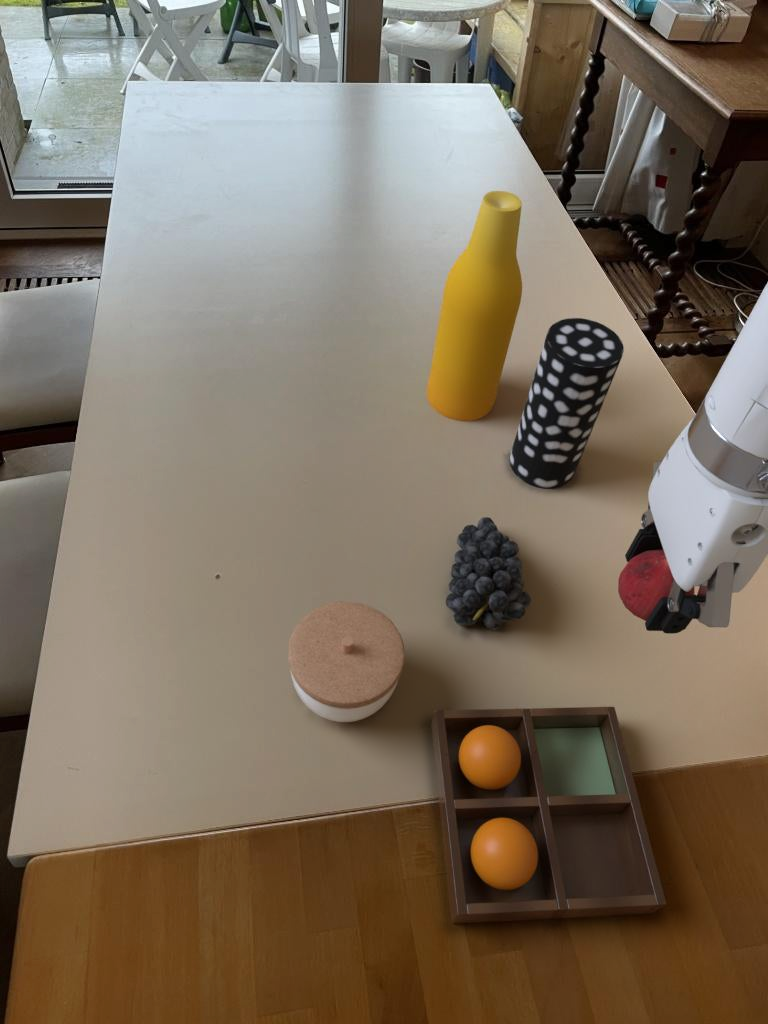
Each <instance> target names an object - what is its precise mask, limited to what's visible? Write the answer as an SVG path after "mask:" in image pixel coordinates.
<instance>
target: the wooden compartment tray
mask: <svg viewBox="0 0 768 1024" xmlns="http://www.w3.org/2000/svg"><path fill="white" fill-rule="evenodd" d="M484 725H492V726H497V727H500V728H502V729H504V730H506V731H507V732H508V733H510V734H511V735H512V736H513V738H514V739H515V740H516V742H517V744H518V746H519V749H520V753H521V764H520V768H519V771H518V773H517V775H516V777H515V778H514V779H513V781H512V782H511V783H509V784H508V785H506V786H505V787H503V788H500V789H496V790H486V789H482V788H479V787H477V786H475V785H474V784H472V783H471V782H470V781H469V780H468V779H467V778H466V777H465V775H464V774H463V772H462V770H461V767H460V764H459V749H460V746H461V743H462V741H463V739H464V738H465V736H466V735H467V734H468V733H469V732H470V731H472V730H473V729H475V728H477V727H480V726H484ZM430 729H431V739H432V748H433V749H432V750H433V758H434V767H435V776H436V777H435V779H436V787H437V795H438V796H437V797H438V807H439V815H440V824H441V825H440V826H441V834H442V843H443V854H444V862H445V863H444V864H445V871H446V873H445V874H446V881H447V890H448V902H449V911H450V919H451V924H453V925H455V924H472V923H473V924H475V923H491V922H492V923H493V922H512V921H534V920H551V919H571V918H572V919H573V918H591V917H610V916H612V917H613V916H628V915H629V916H632V915H651V914H654V913H656V912H658V911H659V910H660V909H662V908H663V907H665V906H667V900H666V897H665V892H664V889H663V885H662V882H661V877H660V875H659V871H658V870H659V869H658V867H657V863H656V859H655V856H654V852H653V848H652V847H653V846H652V845H651V840H650V836H649V833H648V828H647V824H646V822H645V817H644V814H643V810H642V807H641V803H640V798H639V795H638V791H637V788H636V787H637V786H636V784H635V779H634V776H633V772H632V769H631V764H630V761H629V757H628V754H627V753H628V752H627V751H626V750H627V749H626V746H625V742H624V738H623V734H622V731H621V727H620V723H619V719H618V715H617V712H616V707H615V706H587V707H586V706H585V707H584V706H583V707H577V706H576V707H541V708H539V707H537V708H495V709H494V708H491V709H489V708H488V709H454V710H453V709H450V710H449V709H448V710H443V709H442V710H441V709H439V710H434V713H433V717H432V720H431V722H430ZM495 818H510V819H513V820H516V821H518V822H519V823H521V824H522V825H524V826H525V827H526V828H527V829H528V830H529V831H530V833H531V834H532V836H533V838H534V840H535V842H536V845H537V849H538V862H537V867H536V870H535V872H534V874H533V876H532V877H531V879H530V880H529V881H528V882H527V883H526V884H524V885H523V886H521V887H519V888H517V889H513V890H499V889H496V888H493V887H491V886H490V885H488V884H487V883H485V882H484V881H483V880H482V879H481V878H480V877H479V875H478V874H477V872H476V871H475V869H474V866H473V864H472V859H471V844H472V840H473V837H474V835H475V833H476V832H477V830H478V829H479V828H480V827H481V826H482V825H483V824H484V823H486V822H487V821H489V820H492V819H495Z"/></svg>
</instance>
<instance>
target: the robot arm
mask: <svg viewBox="0 0 768 1024" xmlns="http://www.w3.org/2000/svg"><path fill="white" fill-rule="evenodd" d="M647 498H648V503H647V506H648V507H647V509H646V511H644V512H643V513H642V514H641V517H640V525H641V528H639V529H638V531H637V533H636V535H635V536H634V539H633V540H632V542H631V544H630V545H629V547H628V549H627V551H626V553H625V554H624V556H625V560H626V562H627V563H628V562H629V561H630V560H631V559H632V558H633V557H635V556H637V555H639V554H641V553H643V552H645V551H649V550H664V553H665V556H666V559H667V561H668V564H669V567H670V570H671V573H672V575H673V577H674V579H673V583H672V586H671V589H670V593H669V596H668V597H662V598H661V599H660V600H659V602H658V603H657V605H656V606H655V608H654V609H653V611H652V612H651V614H650V615H649V617H648V618H647V620H646V621H644V625H645V629H646V631H648V632H663V633H664V634H674V635H675V634H678V633H682V631H684V630H686V629H687V628H688V626H689V624H690V623H691V622H692V620H697V621H698V622H699V623H701V624H702V625H704V626H706V627H708V628H728V627H729V625H730V620H731V609H732V598H733V593H734V594H735V593H740V592H741V591H742V590H743V589H744V588H745V587H746V586H747V585H748V584H749V583H750V581H751V580H752V578H753V577H754V576H755V574H756V573H757V571H758V570H759V569H760V567H761V566H762V564H763V563H764V561H765V560H766V558H767V557H768V282H767V283H766V284H765V286H764V288H763V290H762V292H761V293H760V295H759V297H758V299H757V301H756V303H755V304H754V306H753V307H752V310H751V312H750V314H749V316H748V318H747V319H746V321H745V323H744V325H743V327H742V328H741V331H740V332H739V334H738V336H737V338H736V339H735V342H734V344H733V345H732V347H731V349H730V351H729V352H728V354H727V356H726V358H725V360H724V361H723V364H722V365H721V367H720V369H719V371H718V373H717V375H716V377H715V379H714V380H713V382H712V384H711V386H710V388H709V389H708V391H707V393H706V395H705V397H704V398H703V400H702V401H701V404H700V406H699V407H698V410H697V411H696V413H695V414H694V417H693V418H692V419H690V421H689V422H688V423H687V424H686V426H685V427H684V428H683V429H682V431H681V433H680V434H679V435H678V436H677V438H676V439H675V440H674V442H673V444H672V445H671V446H670V447H669V450H668V451H667V453H666V454H665V456H664V458H663V459H662V460H655V461H653V464H652V480H651V483H650V485H649V488H648V492H647ZM693 587H694V588H695V587H698V590H697V593H696V594H695V593H694V594H685V592H688V591H690V590H691V589H692V588H693Z"/></svg>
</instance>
